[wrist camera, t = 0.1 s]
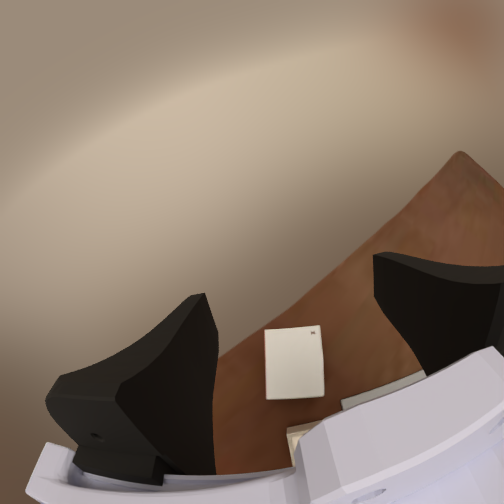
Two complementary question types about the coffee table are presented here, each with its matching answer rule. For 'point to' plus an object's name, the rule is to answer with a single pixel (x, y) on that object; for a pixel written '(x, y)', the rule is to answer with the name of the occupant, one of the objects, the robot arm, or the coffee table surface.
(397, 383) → the base board
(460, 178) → the coffee table surface
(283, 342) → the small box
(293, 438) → the beige cardboard cube
